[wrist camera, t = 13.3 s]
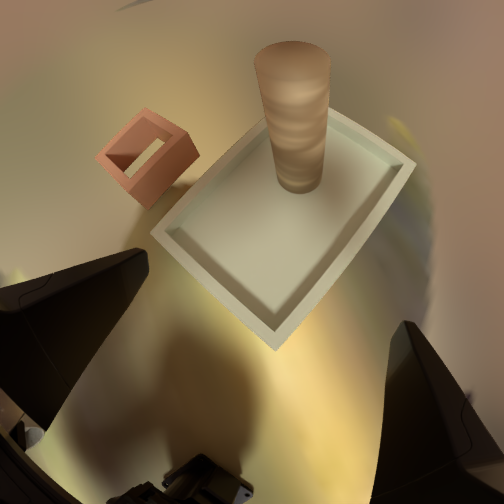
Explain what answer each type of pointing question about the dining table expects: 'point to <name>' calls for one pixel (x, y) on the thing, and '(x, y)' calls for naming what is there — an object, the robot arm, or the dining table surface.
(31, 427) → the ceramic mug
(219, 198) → the tray
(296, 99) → the dowel
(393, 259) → the dining table surface
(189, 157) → the square frame
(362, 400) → the dining table surface
